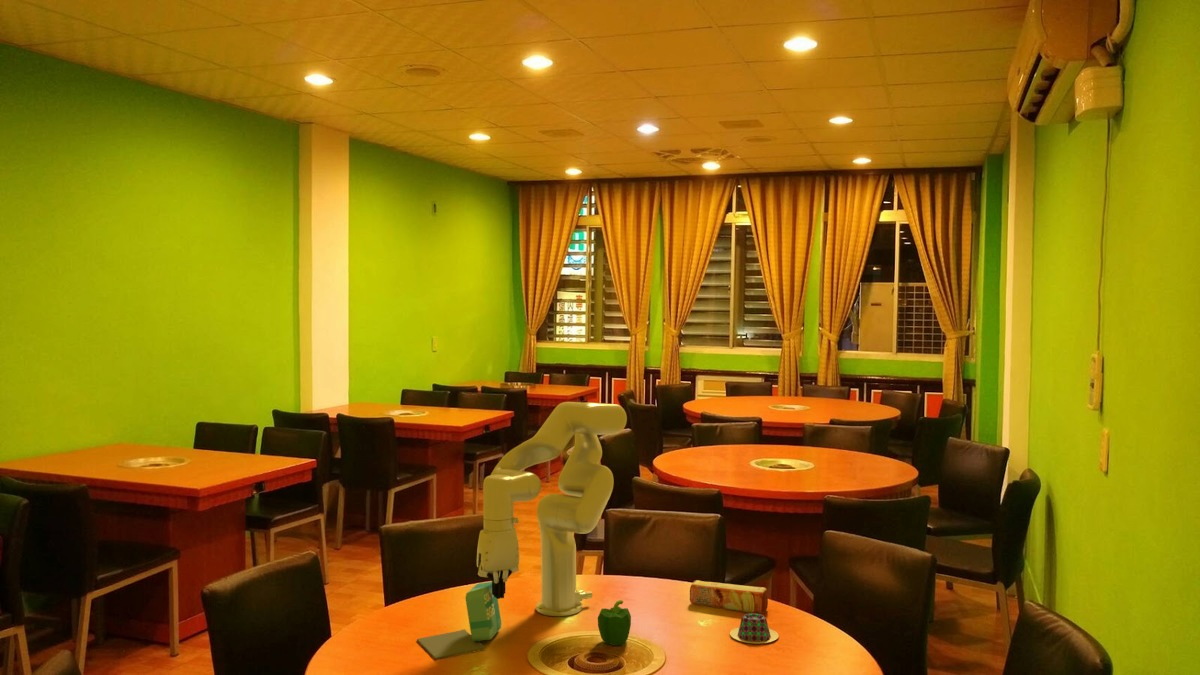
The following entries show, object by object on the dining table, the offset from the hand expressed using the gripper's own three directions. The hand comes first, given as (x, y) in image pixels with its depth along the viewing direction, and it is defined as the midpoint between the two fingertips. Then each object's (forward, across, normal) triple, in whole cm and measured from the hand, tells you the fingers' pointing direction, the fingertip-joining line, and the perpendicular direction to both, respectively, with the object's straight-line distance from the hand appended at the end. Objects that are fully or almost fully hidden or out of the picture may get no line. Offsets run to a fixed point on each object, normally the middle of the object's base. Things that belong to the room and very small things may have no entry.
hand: (498, 597), depth 225 cm
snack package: (+10, -63, +13) cm, 65 cm away
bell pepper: (+10, -23, +19) cm, 31 cm away
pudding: (+10, -55, +33) cm, 65 cm away
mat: (+10, +13, 0) cm, 16 cm away
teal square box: (+9, +3, 0) cm, 10 cm away
